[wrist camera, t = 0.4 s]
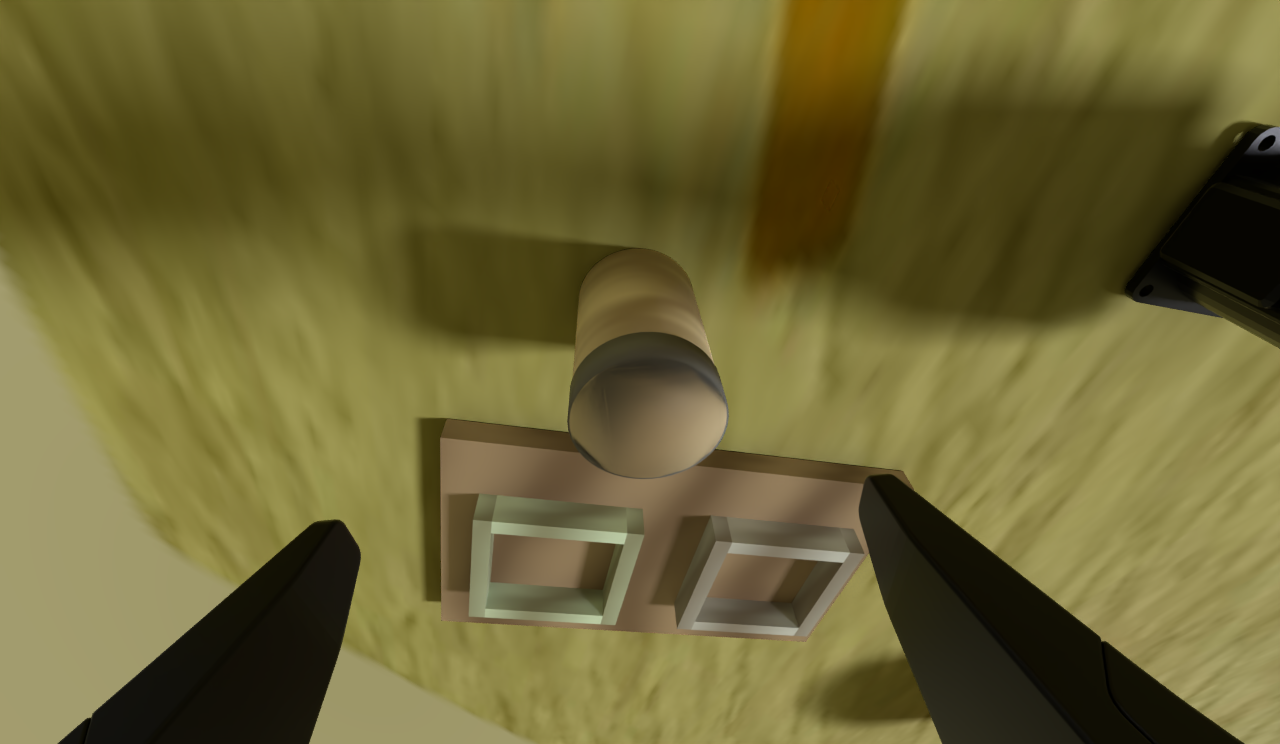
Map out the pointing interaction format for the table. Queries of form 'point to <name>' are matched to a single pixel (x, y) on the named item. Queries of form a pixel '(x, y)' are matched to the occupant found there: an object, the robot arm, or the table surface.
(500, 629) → the table surface
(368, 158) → the table surface
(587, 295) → the cylinder
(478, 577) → the board
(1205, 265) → the robot arm
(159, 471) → the table surface
